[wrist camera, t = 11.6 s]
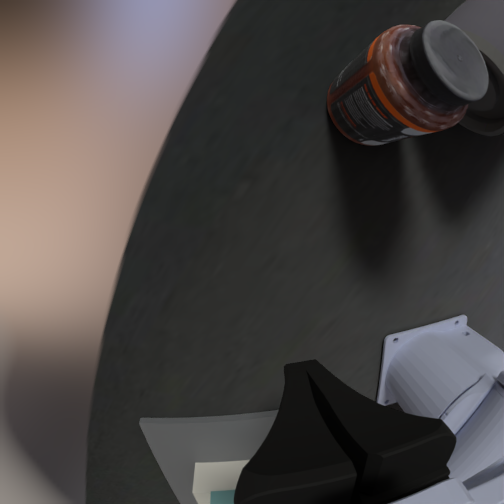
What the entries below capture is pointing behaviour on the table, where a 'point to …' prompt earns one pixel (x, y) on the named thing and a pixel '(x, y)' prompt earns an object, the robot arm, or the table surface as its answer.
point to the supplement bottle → (408, 84)
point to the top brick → (222, 497)
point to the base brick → (215, 478)
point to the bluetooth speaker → (496, 59)
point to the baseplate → (203, 444)
